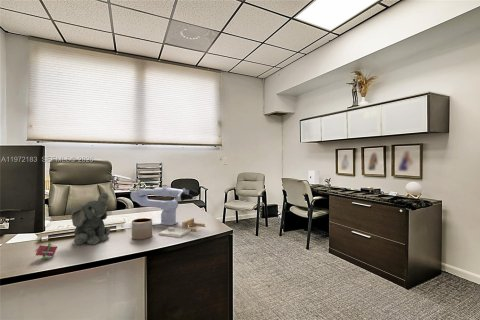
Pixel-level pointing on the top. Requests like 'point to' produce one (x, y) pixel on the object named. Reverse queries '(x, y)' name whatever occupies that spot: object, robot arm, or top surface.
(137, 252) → the top surface
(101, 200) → the stuffed elephant
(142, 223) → the planter
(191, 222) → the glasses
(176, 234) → the stand
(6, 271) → the top surface
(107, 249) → the top surface
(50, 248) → the geometric puzzle
